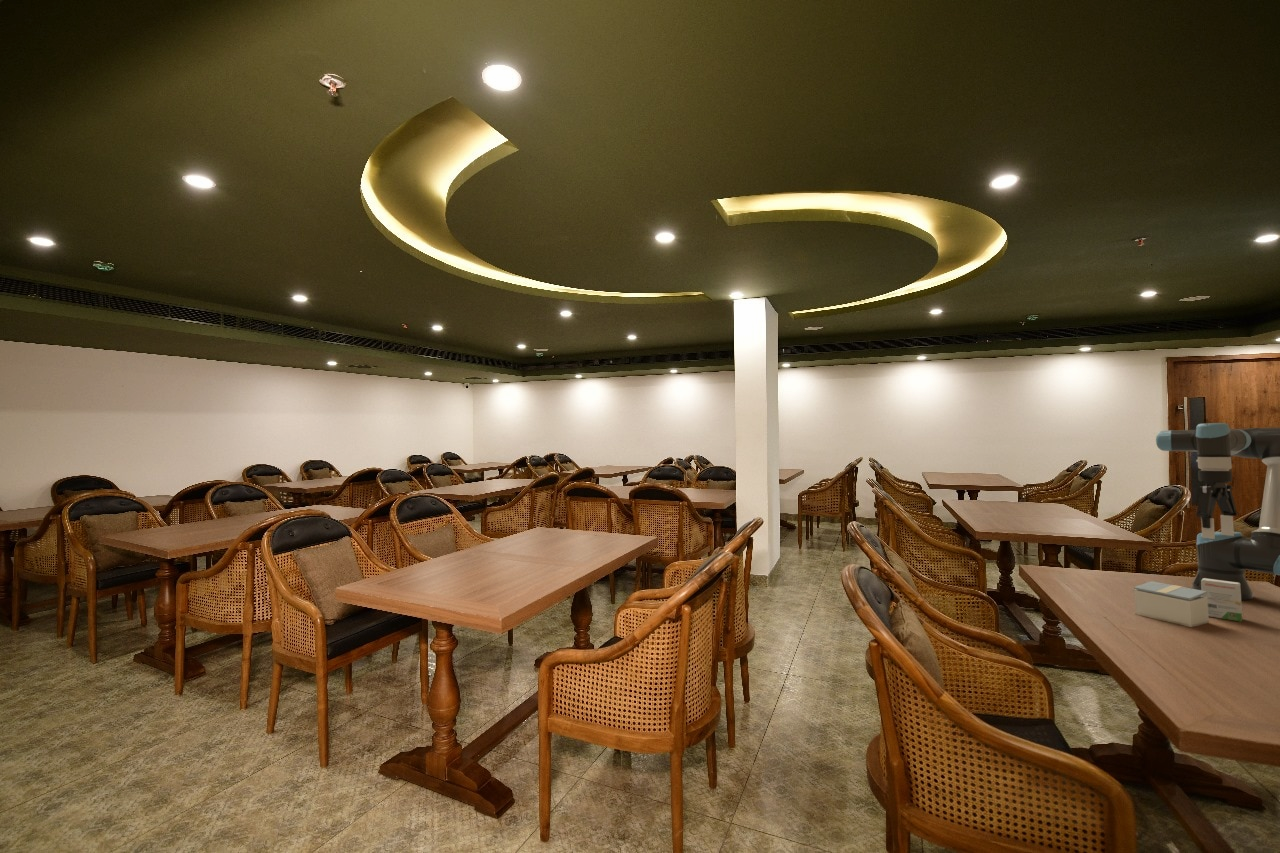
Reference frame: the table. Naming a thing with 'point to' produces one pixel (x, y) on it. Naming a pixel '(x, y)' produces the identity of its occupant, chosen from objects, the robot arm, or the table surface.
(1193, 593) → the lid
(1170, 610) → the carton
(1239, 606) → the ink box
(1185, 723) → the table surface
